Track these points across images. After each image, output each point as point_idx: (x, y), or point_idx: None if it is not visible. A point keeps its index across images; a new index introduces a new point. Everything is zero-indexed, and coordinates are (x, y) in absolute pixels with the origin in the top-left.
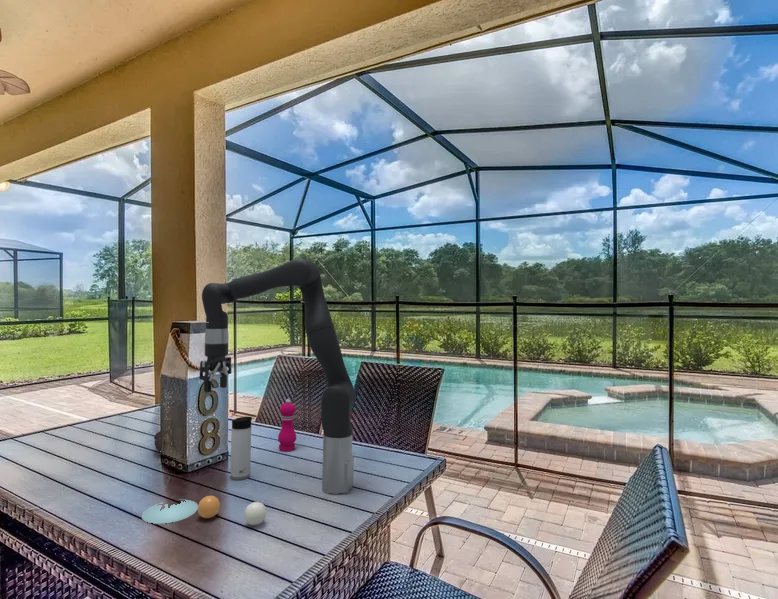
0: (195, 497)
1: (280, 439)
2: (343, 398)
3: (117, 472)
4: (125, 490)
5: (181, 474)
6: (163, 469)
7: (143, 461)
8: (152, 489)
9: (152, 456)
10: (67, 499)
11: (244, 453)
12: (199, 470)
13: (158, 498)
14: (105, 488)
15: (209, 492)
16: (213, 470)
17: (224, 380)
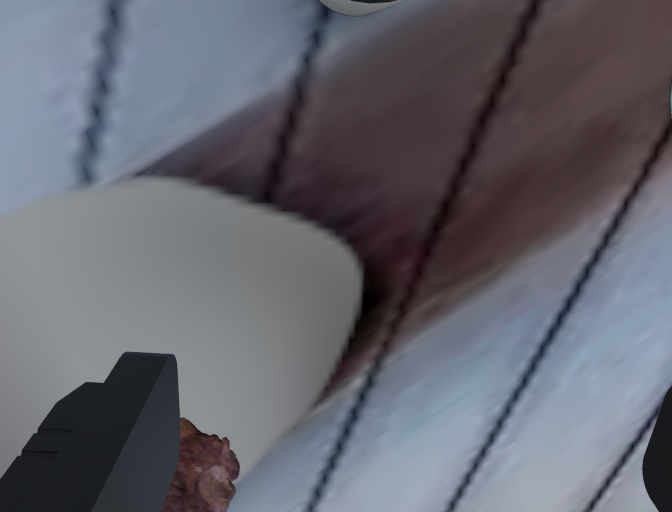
0: (636, 52)
1: None
2: None
3: (414, 508)
4: (577, 378)
5: (386, 276)
6: (348, 380)
7: (286, 498)
8: (560, 290)
9: None
10: None
11: None
12: (322, 226)
13: (649, 211)
14: (563, 450)
15: (576, 15)
16: (305, 159)
17: (120, 491)
